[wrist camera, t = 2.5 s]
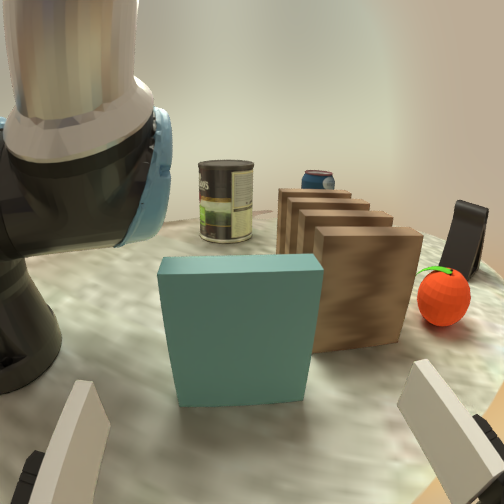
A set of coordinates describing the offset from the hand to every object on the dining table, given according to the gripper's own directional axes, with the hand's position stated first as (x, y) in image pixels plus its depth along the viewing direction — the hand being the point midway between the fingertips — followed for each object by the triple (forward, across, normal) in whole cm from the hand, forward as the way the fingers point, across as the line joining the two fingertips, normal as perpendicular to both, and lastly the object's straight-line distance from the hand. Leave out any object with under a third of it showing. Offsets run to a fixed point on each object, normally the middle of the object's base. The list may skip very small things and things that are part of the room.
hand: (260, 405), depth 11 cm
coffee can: (+51, 0, -10) cm, 52 cm away
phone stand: (+31, +40, -10) cm, 52 cm away
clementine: (+18, +24, -10) cm, 32 cm away
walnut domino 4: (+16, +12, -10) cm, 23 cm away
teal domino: (+10, 0, -10) cm, 14 cm away
